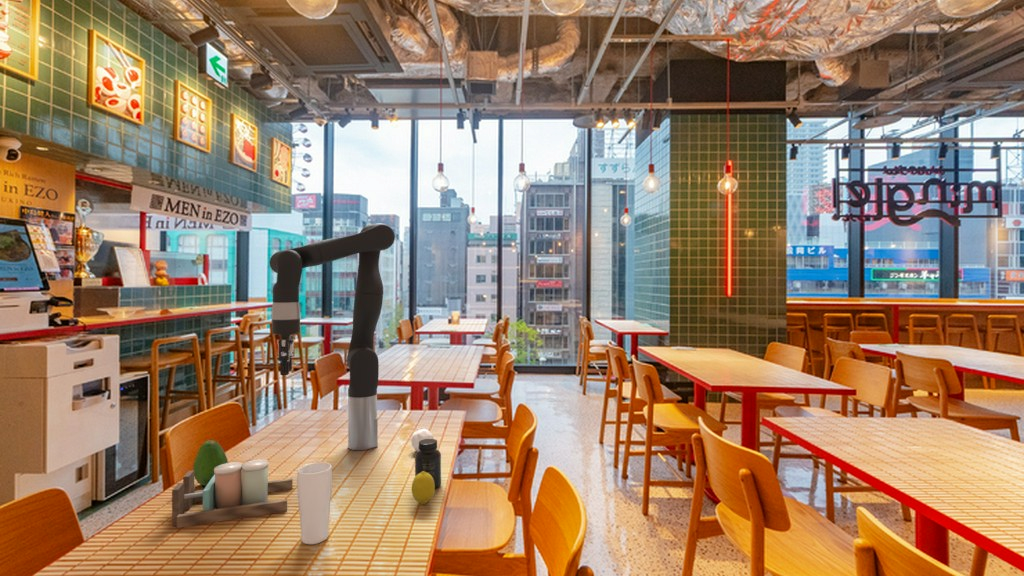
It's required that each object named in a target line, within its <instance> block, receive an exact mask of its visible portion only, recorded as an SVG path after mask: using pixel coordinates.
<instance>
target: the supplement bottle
mask: <svg viewBox="0 0 1024 576" xmlns="http://www.w3.org/2000/svg"><path fill="white" fill-rule="evenodd" d="M422 471H425V472H426V473H429V474H430V475H431V476H432V477H433V480H434V484H435V490H434V491H436V490H438V489H439V488H440V487H441V485H442V453H441V452H440V450H438V440H437V439H434V438H433V439H423V440H421V441H419V451H417V452H416V453H415V455H414V472H415V473H414V477H415V476H416V475H418V474H419V473H421V472H422Z"/></svg>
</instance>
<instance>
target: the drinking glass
mask: <svg viewBox="0 0 1024 576" xmlns="http://www.w3.org/2000/svg"><path fill="white" fill-rule="evenodd" d="M332 468H333V467H332V464H331V463H329V462H325V461H321V462H320V461H319V462H318V461H317V462H316V461H315V462H311V463H310V462H309V463H307V464H304V465H302V466H299V468H298V469H297V476H296V477H297V478H296V479H297V480H296V485H297V489H296V491H297V500H298V503H297V504H298V510H299V522H300V523H299V525H300V531H301V532H300V540H301V542H302V543H303V544H306V545H316V544H319V543H323V541H326V539H327V538H328V537H329V535H330V534H329V533H330V528H329V527H330V526H329V525H330V512H331V500H332V491H333V469H332Z"/></svg>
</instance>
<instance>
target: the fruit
mask: <svg viewBox="0 0 1024 576" xmlns="http://www.w3.org/2000/svg"><path fill="white" fill-rule="evenodd" d="M228 460H229V459H228V457H227V455H226V452H225V450H224V449H223V448H222V446H221V445H220V443H219V442H218V441H216V440H213V439H209V440H206V441H205V442H204V443H202V444H201V446H200V447H199V449H198V451H197V454H196V456H195V459H194V461H193V466H192V467H193V469H192V470H194V480H196V482H197V483H199V484H200V485H201V486H205V487H206V486H207V484H208V483H209V481H210V480H211V479H212V477H213V476H214V474H215V473H214V468H215V467H217V466H219V465H222V464H225V463H229V461H228Z"/></svg>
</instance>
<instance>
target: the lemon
mask: <svg viewBox="0 0 1024 576" xmlns="http://www.w3.org/2000/svg"><path fill="white" fill-rule="evenodd" d="M435 491H436V490H435V484H434V480H433V477H432V476H431V475H430V474H429V473H426V472H425V471H422V472H421V473H419V474H418V475H416V476H415V475H414V477H413V480H412V484H411V494H412V498H413V499H414V500H415V501H416V502H418V503H420V504H421V505H425V504H427V502H429V501H431V499H432V498H433V497H434V495H435Z"/></svg>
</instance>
